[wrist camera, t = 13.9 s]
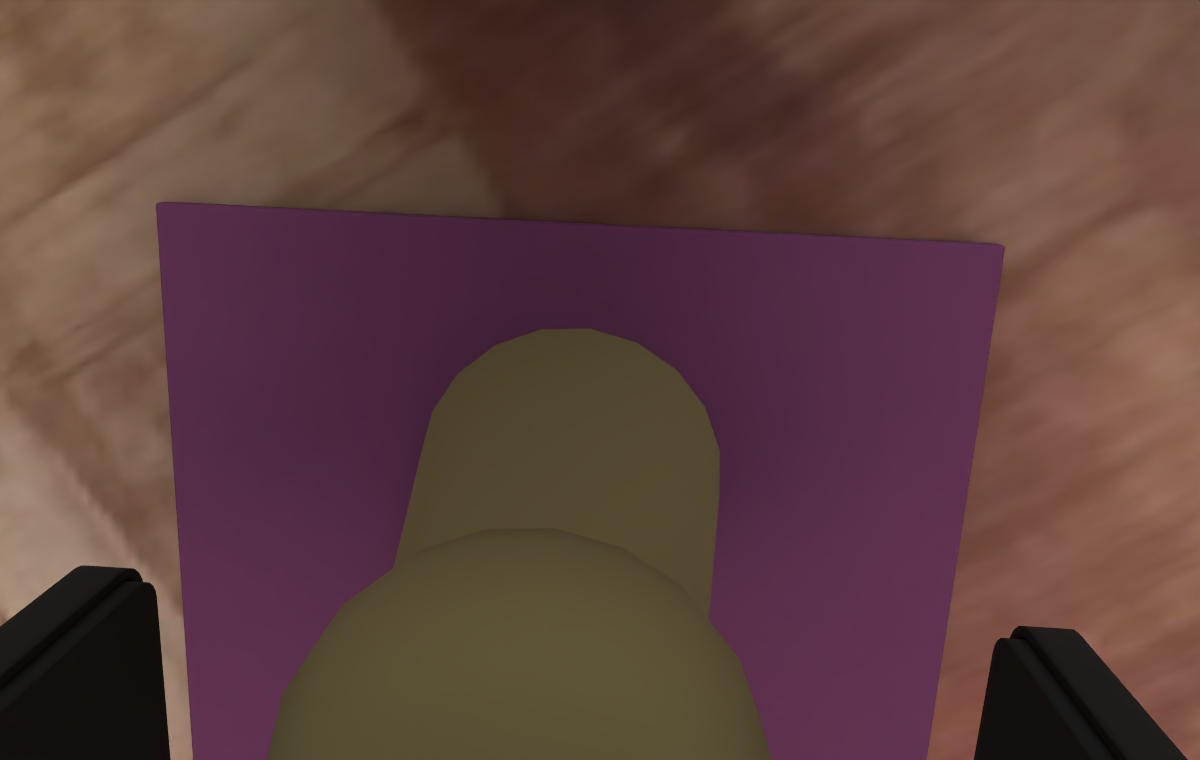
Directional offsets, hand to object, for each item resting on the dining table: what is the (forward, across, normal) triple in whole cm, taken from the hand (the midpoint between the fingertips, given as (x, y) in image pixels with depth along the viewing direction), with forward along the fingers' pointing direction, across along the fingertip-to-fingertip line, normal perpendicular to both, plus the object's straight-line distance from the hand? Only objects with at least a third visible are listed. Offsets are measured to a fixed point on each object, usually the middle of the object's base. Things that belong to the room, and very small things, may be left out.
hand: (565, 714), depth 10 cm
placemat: (+9, +1, +6) cm, 11 cm away
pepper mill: (+9, +1, 0) cm, 9 cm away
